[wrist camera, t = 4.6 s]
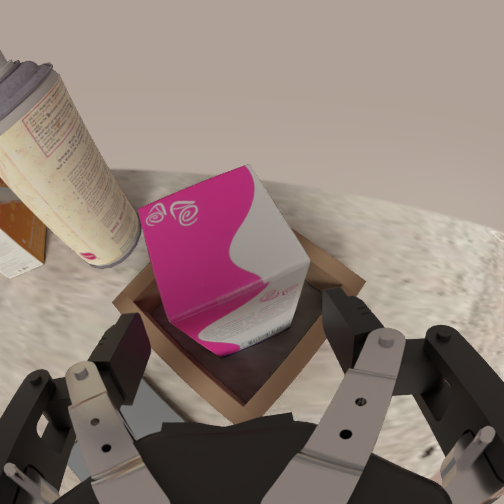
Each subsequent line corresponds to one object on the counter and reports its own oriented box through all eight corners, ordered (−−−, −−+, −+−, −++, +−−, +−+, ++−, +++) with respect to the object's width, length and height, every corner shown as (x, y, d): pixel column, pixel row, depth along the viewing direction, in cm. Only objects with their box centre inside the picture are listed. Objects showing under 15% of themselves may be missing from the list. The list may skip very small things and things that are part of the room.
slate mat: (66, 457, 15) (62, 458, 15) (142, 376, 19) (139, 375, 18) (186, 565, 11) (184, 568, 10) (285, 493, 14) (285, 496, 14)
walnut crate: (131, 315, 21) (111, 302, 18) (233, 212, 25) (229, 187, 22) (248, 425, 17) (245, 433, 14) (351, 297, 21) (366, 281, 18)
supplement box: (258, 262, 23) (253, 158, 13) (291, 328, 20) (320, 266, 10) (190, 290, 22) (133, 205, 12) (219, 360, 19) (169, 331, 9)
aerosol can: (91, 208, 26) (-9, 54, 8) (147, 203, 26) (59, 11, 8) (74, 268, 23) (-69, 119, 5) (133, 269, 23) (-17, 68, 5)
